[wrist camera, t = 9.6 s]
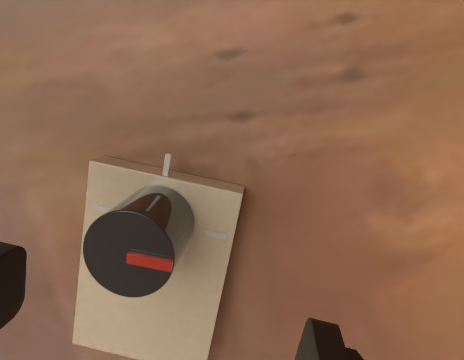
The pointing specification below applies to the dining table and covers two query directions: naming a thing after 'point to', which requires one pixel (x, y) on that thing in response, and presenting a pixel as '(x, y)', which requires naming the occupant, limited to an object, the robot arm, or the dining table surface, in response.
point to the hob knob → (139, 241)
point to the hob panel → (180, 282)
